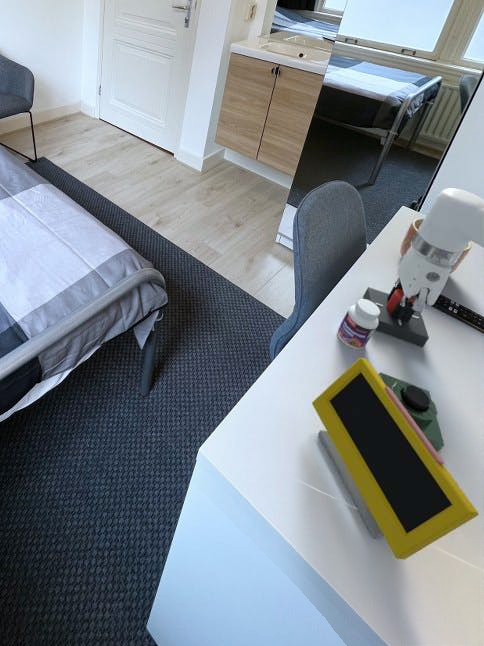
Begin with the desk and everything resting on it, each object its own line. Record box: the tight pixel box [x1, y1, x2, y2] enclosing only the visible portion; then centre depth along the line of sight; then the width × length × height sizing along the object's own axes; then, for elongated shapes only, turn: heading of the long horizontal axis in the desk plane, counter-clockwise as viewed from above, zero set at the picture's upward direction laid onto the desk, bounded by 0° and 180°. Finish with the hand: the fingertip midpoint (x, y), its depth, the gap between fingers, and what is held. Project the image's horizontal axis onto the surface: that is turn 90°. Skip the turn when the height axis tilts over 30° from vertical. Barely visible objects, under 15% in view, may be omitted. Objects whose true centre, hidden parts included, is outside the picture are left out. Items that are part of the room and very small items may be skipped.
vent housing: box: [377, 371, 445, 453], centre depth 74 cm, size 10×8×4 cm
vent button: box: [402, 384, 430, 412], centre depth 73 cm, size 4×4×2 cm
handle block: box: [362, 286, 430, 348], centre depth 93 cm, size 10×10×3 cm
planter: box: [399, 217, 473, 276], centre depth 108 cm, size 12×12×11 cm
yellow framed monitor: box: [311, 357, 479, 560], centre depth 62 cm, size 20×8×16 cm, turn 5°
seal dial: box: [387, 289, 415, 313], centre depth 91 cm, size 4×4×5 cm
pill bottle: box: [336, 298, 380, 350], centre depth 86 cm, size 5×5×10 cm
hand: (397, 309), depth 92 cm, fingers closed on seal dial, 4 cm apart
